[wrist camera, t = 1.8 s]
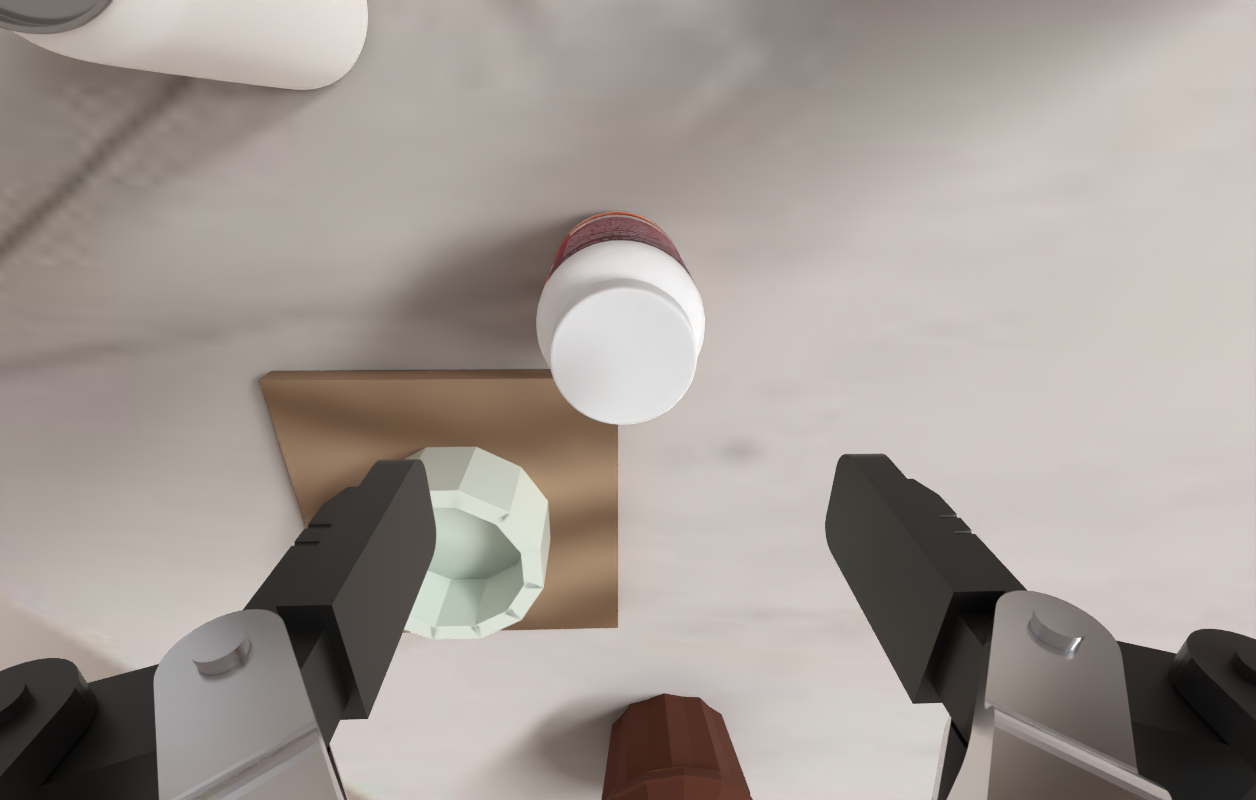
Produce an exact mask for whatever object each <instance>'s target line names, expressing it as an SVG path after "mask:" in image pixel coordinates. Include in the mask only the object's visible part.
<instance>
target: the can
mask: <svg viewBox="0 0 1256 800" xmlns="http://www.w3.org/2000/svg"><path fill="white" fill-rule="evenodd" d="M367 24H368V8H367V0H0V28H3V29H7V30H10V31H12V32H14V33H15V34H17V35H19V36H21V37H23V38H24V39H26V40H28V41H30V42H32V43H34V44H36V45H38V46H40V47H43V48H45V49H47V50H50V51H52V52H55V53H58V54H61V55H64V56H68V57H71V58H75V59H79V60H83V61H87V62H93V63H98V64H104V65H110V66H117V67H124V68H131V69H138V70H145V71H152V72H159V73H167V74H174V75H182V76H189V77H197V78H204V79H212V80H220V81H227V82H235V83H243V84H251V85H259V86H267V87H275V88H284V89H294V90H311V89H318V88H322V87H325V86H328V85H330V84H332V83H334V82H336V81H337V80H339V79H340V78H342V77H343V76H344V75H345V74H346V73H347V72H348V71H349V70H350V69H351V68H352V66H353V65H354V64H355V62H356V61H357V59H358V57H359V55H360V53H361V51H362V48H363V45H364V42H365V38H366V33H367Z"/></svg>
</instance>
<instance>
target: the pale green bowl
mask: <svg viewBox="0 0 1256 800" xmlns="http://www.w3.org/2000/svg"><path fill="white" fill-rule="evenodd" d="M406 459H420V460H421V461H422V462H423V464H424V466H425V469H426V474H427V480H428V485H429V491H430V496H431V501H432V507H433V512H434V518H435V523H436V545H435V551H434V555H433V558H432V561H431V563H430V566H429V568H428V571H427V573H426V576H425V578H424V581H423V583H422V586H421V588H420V591H419V593H418V596H417V598H416V601H415V603H414V606H413V608H412V611H411V613H410V615H409V618H408V620H407V623H406V625H405V628H404V630H407V631H410V632H413V633H416V634H418V635H421V636H424V637H427V638H430V639H474V638H483V637H485V636H488V635H490V634H492V633H494V632H496V631H499V630H501V629H503V628H505V627H507V626H510V625H512V624H514V623H516V622H518V621H521V620H522V619H523V617H524V616H525V614H526V613H527V611H528V610H529V608H530V607H531V605H532V604H533V603H534V601H535V600H536V598H537V597H538V595H539V594H540V592H541V591H542V590H543V588H544V581H545V574H546V567H547V560H548V552H549V545H550V538H551V537H550V523H549V509H548V500H547V499H546V498H545V497H544V495H543V494H542V493H541V491H540V490H539V489H538V488H537V486H536V485H535V484H534V483H533V481H532V480H531V479H530V478H529V476H528V475H527V474H526V472H525V471H524V470H523V469H522V467H520V466H518V465H516V464H513V463H511V462H509V461H507V460H505V459H502V458H500V457H498V456H496V455H493V454H491V453H489V452H487V451H485V450H482V449H480V448H478V447H426V448H424V449H422V450H420V451H418V452H416V453H415V454H413V455H411V456H409V457H407V458H406Z"/></svg>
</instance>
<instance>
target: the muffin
mask: <svg viewBox="0 0 1256 800" xmlns="http://www.w3.org/2000/svg"><path fill="white" fill-rule="evenodd" d="M602 800H753V799H752V798H751V796H750V791H749V788H748V786H747V783H746V780H745V777H744V775H743V772H742V769H741V767H740V764H739V761H738V758H737V756H736V753H735V750H734V747H733V745H732V742H731V739H730V737H729V734H728V731H727V728H726V726H725V723H724V720H723V718H722V715H721V714H720V713H718V712H717V711H715V710H714V709H712V708H710V707H709V706H708V705H707V704H706V703H705V702H704V701H703V700H702V699H701V698H698V697H681V696H675V695H670V694H665V693H664V694H662V695H659V696H656V697H654V698H651V699H649V700H645V701H641V702H637V703H633V704H630V706H629V707H628V708H627V710H626V711H625V713H624V714H623V715H622V716H621V717H620V718H619V719H618V720H617V721H616V722H615V723H613V724H612V731H611V738H610V745H609V752H608V759H607V766H606V773H605V780H604V787H603V794H602Z"/></svg>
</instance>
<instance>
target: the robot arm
mask: <svg viewBox="0 0 1256 800" xmlns="http://www.w3.org/2000/svg"><path fill="white" fill-rule="evenodd" d="M825 531H826V538H827V543H828V546H829V549H830V551H831V553H832V555H833V557H834V559H835V560H836V562H837V564H838V566H839V568H840V570H841V572H842V573H843V575H844V577H845V579H846V581H847V583H848V585H849V586H850V588H851V590H852V592H853V594H854V596H855V597H856V599H857V601H858V603H859V605H860V607H861V609H862V610H863V612H864V614H865V616H866V618H867V620H868V621H869V623H870V625H871V627H872V629H873V631H874V633H875V634H876V636H877V638H878V640H879V642H880V644H881V646H882V647H883V649H884V651H885V653H886V655H887V657H888V658H889V660H890V662H891V664H892V666H893V668H894V670H895V671H896V673H897V675H898V677H899V679H900V681H901V682H902V684H903V686H904V688H905V690H906V692H907V694H908V695H909V697H910V699H911V701H912V703H913V704H917V703H943V705H944V706H945V708H946V710H947V711H948V713H949V715H950V716H949V718H948V721H947V723H946V726H945V729H944V734H943V740H942V745H941V751H940V756H939V762H938V767H937V773H936V778H935V784H934V789H933V795H932V800H1256V639H1253V638H1250V637H1247V636H1244V635H1241V634H1237V633H1234V632H1230V631H1224V630H1218V629H1201V630H1197V631H1194V632H1193V633H1191V634H1190V635H1189V637H1188V638H1187V640H1186V641H1185V643H1184V644H1183V646H1182V647H1181V649H1180V650H1179V652H1178V653H1177V654H1175V653H1171V652H1166V651H1161V650H1157V649H1152V648H1148V647H1143V646H1138V645H1134V644H1129V643H1125V642H1120V641H1116V640H1115V639H1114V637H1113V636H1112V635H1111V633H1110V632H1109V631H1108V630H1107V629H1106V628H1105V627H1104V626H1103V625H1102V624H1100V623H1099V622H1098V621H1097V620H1096V619H1094V618H1093V617H1092V616H1090V615H1089V614H1087V613H1086V612H1084V611H1083V610H1081V609H1079V608H1078V607H1076V606H1074V605H1072V604H1070V603H1068V602H1066V601H1064V600H1061V599H1059V598H1056V597H1053V596H1050V595H1047V594H1043V593H1039V592H1033V591H1027V590H1026V589H1025V587H1024V586H1023V585H1022V584H1021V583H1020V582H1019V581H1018V580H1017V579H1016V578H1015V577H1014V576H1013V574H1012V573H1011V572H1010V571H1009V570H1008V569H1007V568H1006V567H1005V566H1004V565H1003V564H1002V563H1001V561H1000V560H999V559H998V558H997V557H996V556H995V555H994V554H993V553H992V552H991V551H990V550H989V549H988V547H987V546H986V545H985V544H984V543H983V542H982V541H981V540H980V539H979V538H978V537H977V536H976V534H972V533H971V529H970V528H969V527H968V526H967V525H966V524H965V523H964V521H963V520H962V519H961V518H957V516H956V513H955V512H954V511H953V510H952V509H951V507H950V506H949V505H948V504H947V503H946V502H945V501H944V500H943V499H942V498H941V497H940V496H939V495H938V494H937V493H935V492H933V491H932V490H930V489H929V488H927V487H925V486H924V485H922V484H921V483H919V482H917V481H916V480H914V479H907V478H906V477H905V476H904V475H903V473H902V472H901V471H900V470H899V469H898V468H897V467H896V465H895V464H894V463H893V462H892V461H891V460H890V459H889V458H888V457H887V456H886V455H884V454H844V455H842V456H841V457H840V459H839V461H838V463H837V467H836V472H835V477H834V481H833V486H832V491H831V496H830V501H829V505H828V510H827V515H826V522H825ZM435 545H436V523H435V518H434V512H433V507H432V501H431V496H430V491H429V485H428V480H427V474H426V469H425V466H424V464H423V462H422V461H421V460H420V459H400V460H378V461H376V462H375V464H374V465H373V466H372V468H371V469H370V471H369V472H368V474H367V475H366V476H365V478H364V479H363V481H362V482H361V484H360V485H359V487H347V488H345V489H344V490H342V491H341V492H340V493H338V494H337V495H335V496H334V497H333V498H331V499H330V500H328V501H327V502H326V503H324V504H323V505H322V506H321V508H320V509H319V510H318V512H317V513H316V514H315V515H314V517H313V518H312V519H311V521H310V522H309V523H308V528H307V529H304V530H303V531H302V533H301V534H300V535H299V537H298V538H297V539H296V541H295V545H294V546H291V547H290V548H289V550H288V551H287V552H286V554H285V555H284V556H283V558H282V559H281V560H280V562H279V563H278V564H277V566H276V567H275V568H274V570H273V571H272V572H271V574H270V575H269V576H268V578H267V579H266V580H265V582H264V583H263V584H262V585H261V587H260V588H259V589H258V591H257V592H256V593H255V595H254V596H253V597H252V599H251V600H250V601H249V603H248V604H247V605H246V607H245V608H244V609H243V611H237V612H233V613H230V614H226V615H224V616H221V617H218V618H216V619H214V620H212V621H209V622H207V623H205V624H203V625H202V626H200V627H198V628H196V629H195V630H193V631H192V632H190V633H189V634H188V635H186V636H185V637H184V638H182V639H181V640H180V641H179V642H177V643H176V644H175V645H174V646H173V647H172V648H171V649H170V650H169V651H168V653H167V654H166V655H165V656H164V658H163V659H162V660H161V662H160V664H157V665H154V666H150V667H146V668H143V669H139V670H135V671H131V672H128V673H124V674H120V675H117V676H113V677H109V678H105V679H102V680H98V681H94V682H90V683H87V682H86V680H85V679H84V677H83V676H82V674H81V673H80V671H79V670H78V668H77V666H75V664H74V663H73V662H70V661H68V660H66V659H59V658H46V659H39V660H34V661H30V662H25V663H22V664H19V665H16V666H13V667H10V668H7V669H5V670H2V671H0V800H348V797H347V794H346V791H345V788H344V785H343V782H342V779H341V776H340V773H339V770H338V767H337V764H336V761H335V758H334V755H333V751H332V749H331V746H330V741H331V739H332V737H333V734H334V732H335V730H336V728H337V725H338V723H339V721H340V720H348V719H368V717H369V715H370V712H371V710H372V707H373V705H374V702H375V700H376V697H377V695H378V692H379V690H380V687H381V685H382V682H383V680H384V677H385V675H386V672H387V670H388V668H389V665H390V663H391V660H392V658H393V655H394V653H395V650H396V648H397V645H398V643H399V640H400V638H401V635H402V633H403V630H404V628H405V625H406V623H407V620H408V618H409V615H410V613H411V611H412V608H413V606H414V603H415V601H416V598H417V596H418V593H419V591H420V588H421V586H422V583H423V581H424V578H425V576H426V573H427V571H428V568H429V566H430V563H431V561H432V558H433V555H434V551H435Z"/></svg>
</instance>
